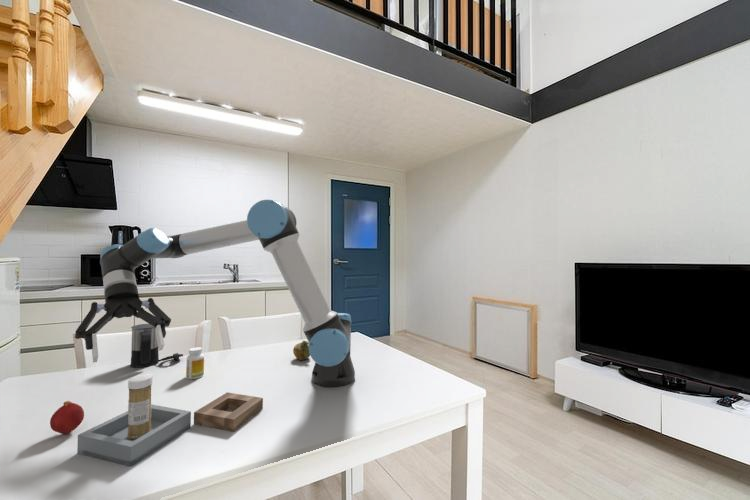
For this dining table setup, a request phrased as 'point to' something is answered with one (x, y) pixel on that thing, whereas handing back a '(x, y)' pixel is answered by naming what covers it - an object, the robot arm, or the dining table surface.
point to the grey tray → (118, 448)
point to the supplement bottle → (195, 363)
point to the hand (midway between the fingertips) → (130, 353)
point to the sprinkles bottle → (139, 406)
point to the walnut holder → (226, 420)
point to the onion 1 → (67, 418)
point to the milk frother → (146, 346)
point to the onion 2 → (301, 350)
